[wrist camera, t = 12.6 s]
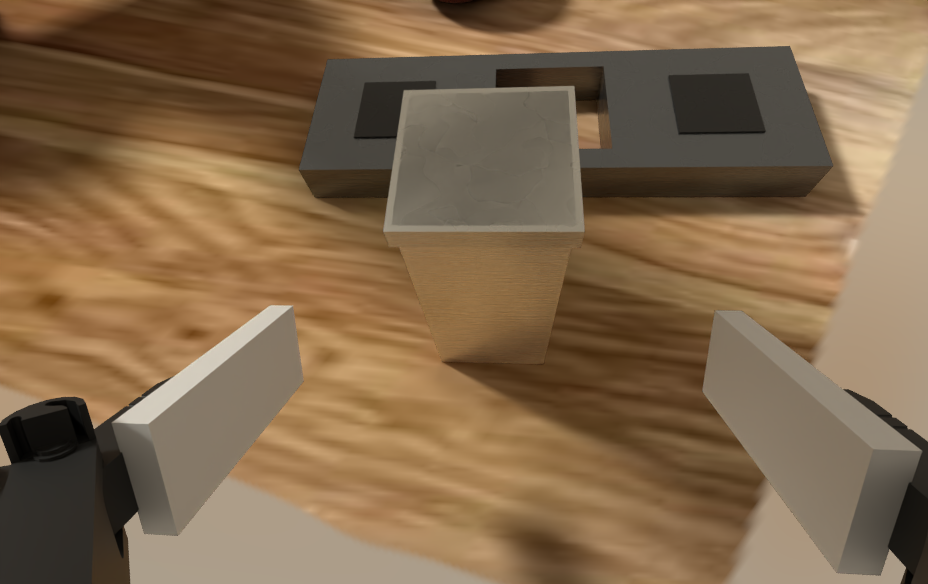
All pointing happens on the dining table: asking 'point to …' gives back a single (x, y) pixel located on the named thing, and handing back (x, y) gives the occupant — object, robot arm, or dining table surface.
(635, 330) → the dining table surface
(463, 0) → the potato
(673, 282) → the dining table surface
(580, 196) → the grey rectangular block
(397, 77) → the grey board with recesses
